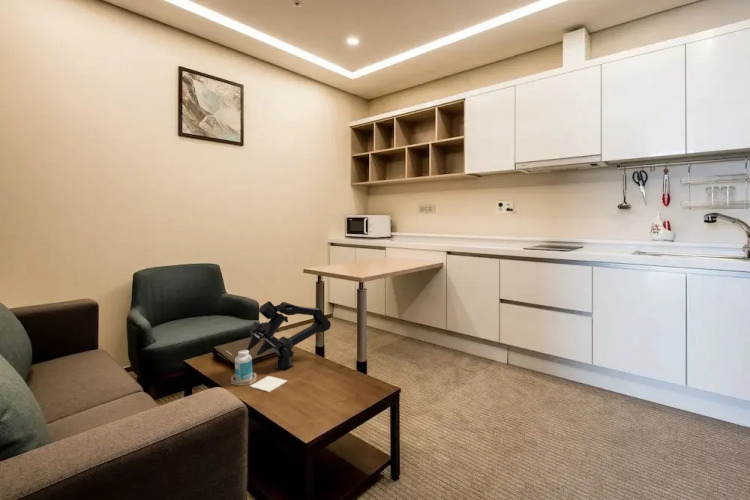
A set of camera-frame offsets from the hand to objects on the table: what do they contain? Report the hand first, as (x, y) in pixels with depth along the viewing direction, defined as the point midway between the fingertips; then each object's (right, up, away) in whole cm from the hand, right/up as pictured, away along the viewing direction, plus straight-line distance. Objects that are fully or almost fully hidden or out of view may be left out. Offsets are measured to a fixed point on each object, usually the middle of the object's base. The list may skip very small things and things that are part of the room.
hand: (252, 352), depth 173 cm
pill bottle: (-3, -12, -2) cm, 13 cm away
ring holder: (-3, -12, -2) cm, 13 cm away
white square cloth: (+9, -13, -6) cm, 17 cm away
